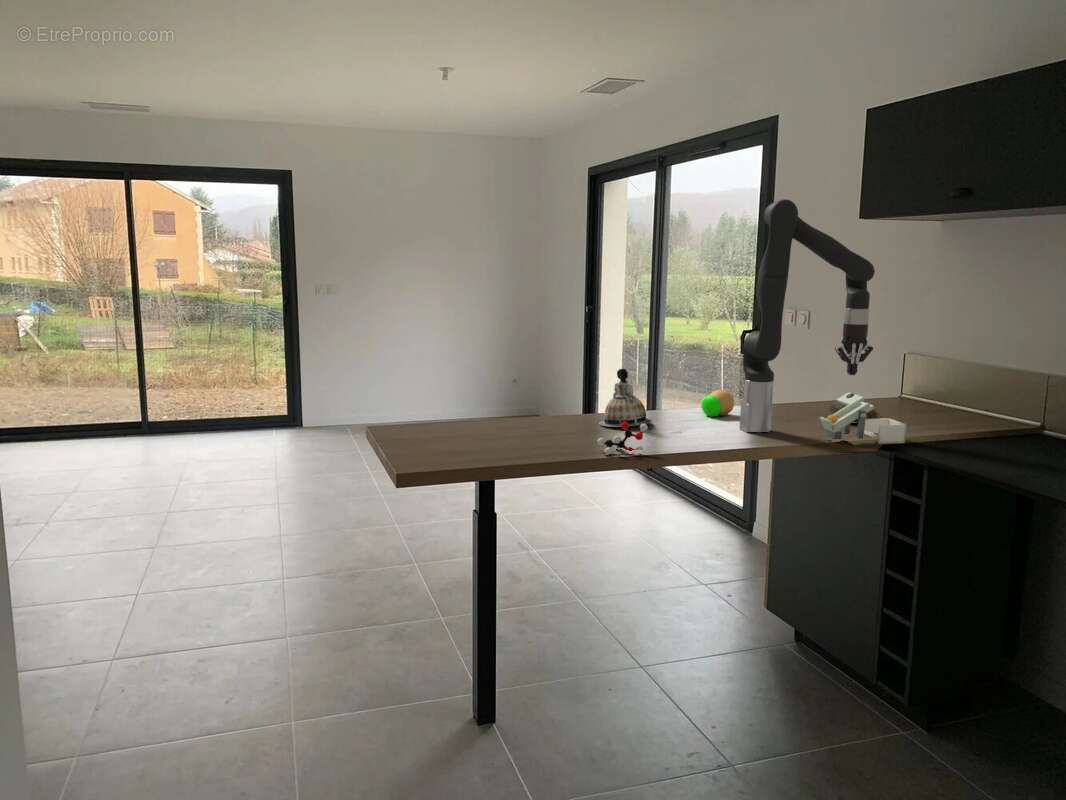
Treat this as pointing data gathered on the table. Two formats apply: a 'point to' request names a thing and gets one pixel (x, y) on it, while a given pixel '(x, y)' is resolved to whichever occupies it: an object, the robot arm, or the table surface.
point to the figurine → (624, 405)
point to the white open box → (886, 430)
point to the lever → (847, 411)
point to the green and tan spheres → (718, 403)
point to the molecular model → (619, 442)
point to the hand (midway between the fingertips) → (851, 374)
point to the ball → (833, 418)
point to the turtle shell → (870, 415)
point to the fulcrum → (847, 429)
